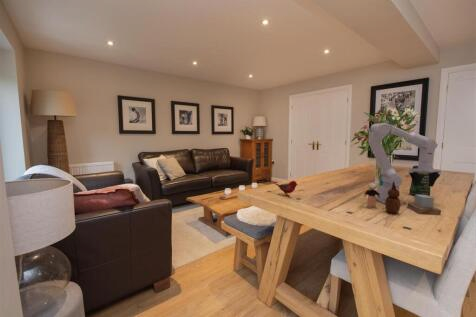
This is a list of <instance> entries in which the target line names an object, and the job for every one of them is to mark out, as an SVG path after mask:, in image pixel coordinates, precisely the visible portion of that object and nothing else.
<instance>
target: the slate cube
mask: <svg viewBox="0 0 476 317" xmlns="http://www.w3.org/2000/svg"><path fill="white" fill-rule="evenodd" d="M434 201H435V198H434V197H432V196H431V195H430V196H428V195H415V196H414V202H413V203H414V204H415V205H417V206H419V207H421V208H433V207H434Z"/></svg>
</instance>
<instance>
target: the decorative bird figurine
mask: <svg viewBox="0 0 476 317" xmlns="http://www.w3.org/2000/svg"><path fill="white" fill-rule="evenodd" d="M273 184H275V186H277V187H278V188H279V189H280V191H282V192H283V193H284V194H283V195H285V196H287V197H291V195H290V194H291V193H293V192H294V191H295V189H296V187H297V186H298V184H297V181H296V180H291V181H289V182H288V183H282V184H278V183H275V182H273Z"/></svg>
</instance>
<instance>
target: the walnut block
mask: <svg viewBox="0 0 476 317" xmlns="http://www.w3.org/2000/svg"><path fill="white" fill-rule="evenodd" d="M406 208H407V209H409V210H411V211H413V212H415V213H417V214H418V215H431V216H432V215H433V216H434V215H435V216H441V213H442V209H440V208H438V207H436V206H433V208H421V207H419V206H417V205H415V204H414V202H407V207H406Z"/></svg>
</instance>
